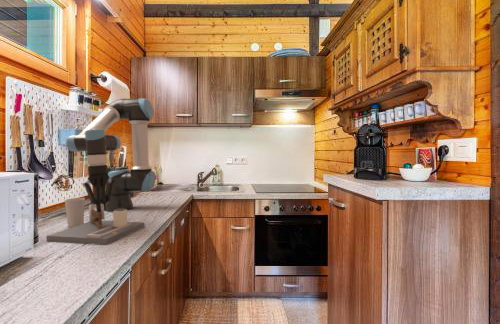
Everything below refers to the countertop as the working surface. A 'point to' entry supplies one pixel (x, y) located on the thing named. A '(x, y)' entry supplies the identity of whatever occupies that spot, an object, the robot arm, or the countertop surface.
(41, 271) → the countertop surface
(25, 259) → the countertop surface
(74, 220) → the cup
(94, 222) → the door
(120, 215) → the fader knob
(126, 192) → the robot arm
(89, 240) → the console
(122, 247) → the countertop surface
